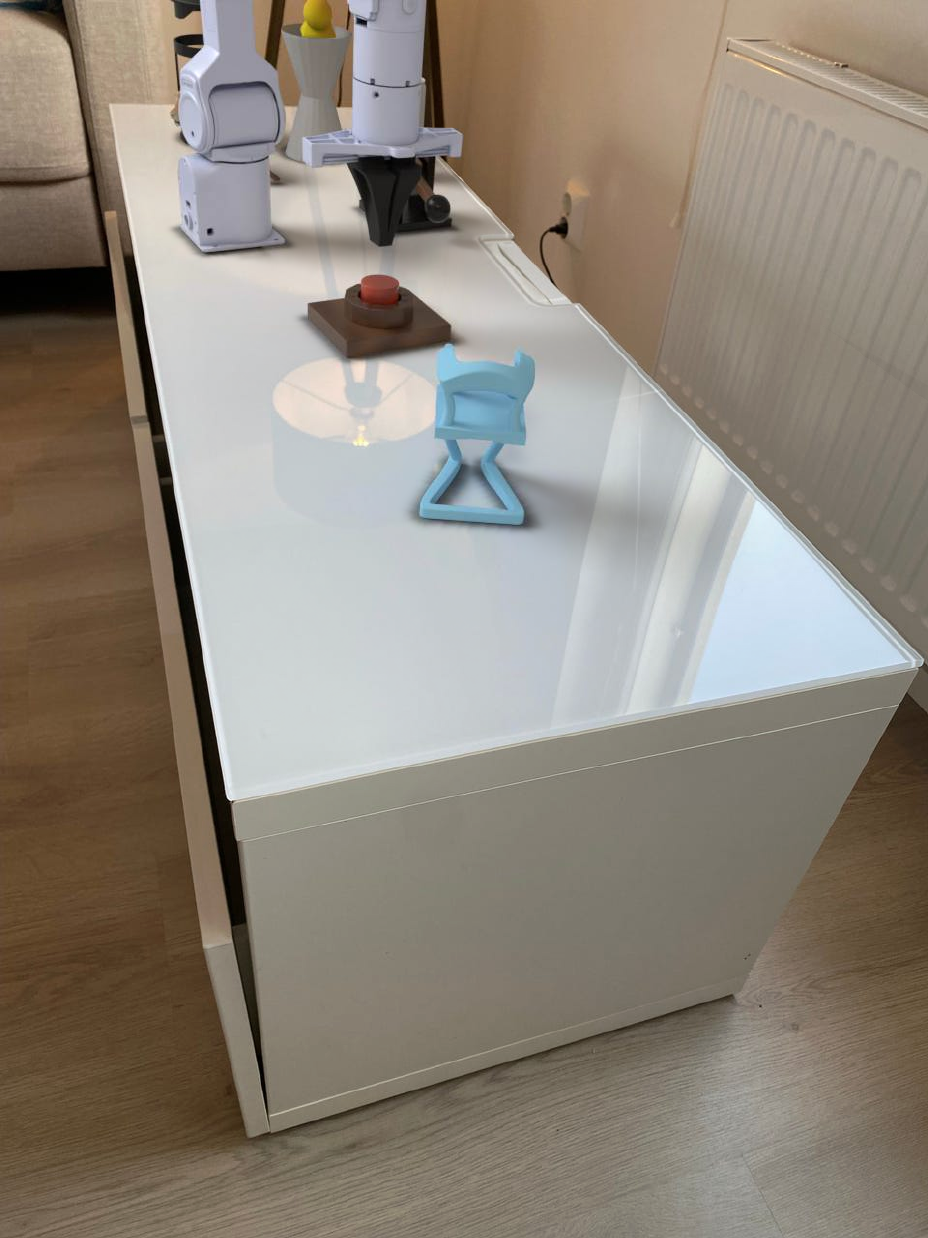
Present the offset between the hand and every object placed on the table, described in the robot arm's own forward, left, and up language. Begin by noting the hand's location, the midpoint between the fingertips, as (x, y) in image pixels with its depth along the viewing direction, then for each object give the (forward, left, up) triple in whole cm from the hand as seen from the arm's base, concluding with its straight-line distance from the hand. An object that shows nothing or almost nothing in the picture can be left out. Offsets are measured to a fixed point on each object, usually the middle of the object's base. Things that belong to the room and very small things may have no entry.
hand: (380, 242), depth 92 cm
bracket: (+17, +27, -9) cm, 33 cm away
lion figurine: (+2, +48, -9) cm, 49 cm away
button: (0, 0, -5) cm, 5 cm away
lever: (+17, +23, -5) cm, 29 cm away
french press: (+6, +63, -9) cm, 64 cm away
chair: (-6, -28, -9) cm, 30 cm away
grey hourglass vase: (+17, +53, -9) cm, 56 cm away
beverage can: (+24, +41, -9) cm, 48 cm away
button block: (0, 0, -9) cm, 9 cm away
